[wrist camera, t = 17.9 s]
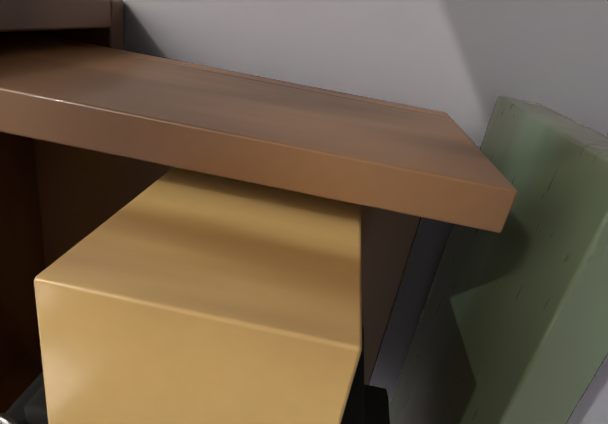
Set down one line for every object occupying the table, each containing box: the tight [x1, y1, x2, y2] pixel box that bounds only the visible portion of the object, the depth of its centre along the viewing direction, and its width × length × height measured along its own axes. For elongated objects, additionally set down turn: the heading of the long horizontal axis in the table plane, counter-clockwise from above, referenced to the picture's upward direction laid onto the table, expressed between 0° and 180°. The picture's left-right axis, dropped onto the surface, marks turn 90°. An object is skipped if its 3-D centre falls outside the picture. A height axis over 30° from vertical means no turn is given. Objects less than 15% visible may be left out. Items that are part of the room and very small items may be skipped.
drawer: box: [0, 31, 608, 424], centre depth 12 cm, size 21×13×7 cm, turn 80°
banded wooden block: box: [34, 167, 362, 424], centre depth 9 cm, size 9×4×5 cm, turn 170°
